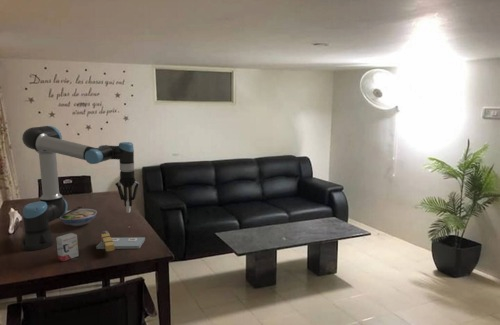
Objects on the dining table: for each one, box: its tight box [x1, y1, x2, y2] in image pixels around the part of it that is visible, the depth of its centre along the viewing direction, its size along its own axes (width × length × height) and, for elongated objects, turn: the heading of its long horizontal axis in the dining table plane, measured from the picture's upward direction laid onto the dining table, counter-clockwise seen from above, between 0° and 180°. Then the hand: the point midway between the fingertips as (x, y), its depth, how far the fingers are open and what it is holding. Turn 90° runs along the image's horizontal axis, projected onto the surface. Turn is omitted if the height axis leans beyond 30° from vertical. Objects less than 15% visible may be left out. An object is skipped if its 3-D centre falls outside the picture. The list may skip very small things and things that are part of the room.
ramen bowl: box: [58, 206, 98, 227], centre depth 247 cm, size 25×23×8 cm
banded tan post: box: [100, 230, 115, 252], centre depth 207 cm, size 22×4×5 cm, turn 27°
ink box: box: [55, 232, 79, 262], centre depth 195 cm, size 9×5×12 cm, turn 146°
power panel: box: [95, 236, 146, 250], centre depth 214 cm, size 23×13×2 cm, turn 92°
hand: (128, 211), depth 215 cm, fingers closed
